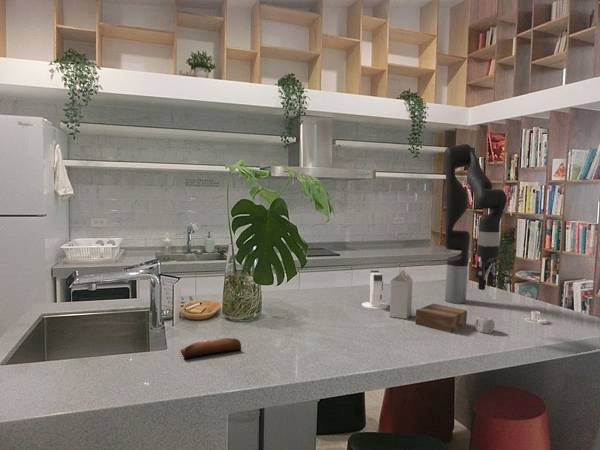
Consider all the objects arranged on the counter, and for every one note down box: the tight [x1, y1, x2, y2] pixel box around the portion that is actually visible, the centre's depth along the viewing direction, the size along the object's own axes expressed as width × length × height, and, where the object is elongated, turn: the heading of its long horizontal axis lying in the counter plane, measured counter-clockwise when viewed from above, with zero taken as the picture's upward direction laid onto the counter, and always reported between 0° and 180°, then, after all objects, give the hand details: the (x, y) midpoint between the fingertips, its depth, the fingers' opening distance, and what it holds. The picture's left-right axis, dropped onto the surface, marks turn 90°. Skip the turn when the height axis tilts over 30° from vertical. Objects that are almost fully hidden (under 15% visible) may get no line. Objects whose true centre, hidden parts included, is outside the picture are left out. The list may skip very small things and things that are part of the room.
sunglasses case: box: [179, 337, 242, 360], centre depth 140 cm, size 18×7×7 cm
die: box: [474, 315, 496, 334], centre depth 166 cm, size 5×5×5 cm
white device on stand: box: [361, 270, 389, 310], centre depth 198 cm, size 12×11×15 cm
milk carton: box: [389, 268, 413, 320], centre depth 183 cm, size 7×7×19 cm
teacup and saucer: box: [524, 310, 549, 325], centre depth 180 cm, size 9×8×4 cm
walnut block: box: [415, 303, 468, 333], centre depth 173 cm, size 14×14×6 cm
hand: (485, 287), depth 165 cm, fingers open, 8 cm apart
